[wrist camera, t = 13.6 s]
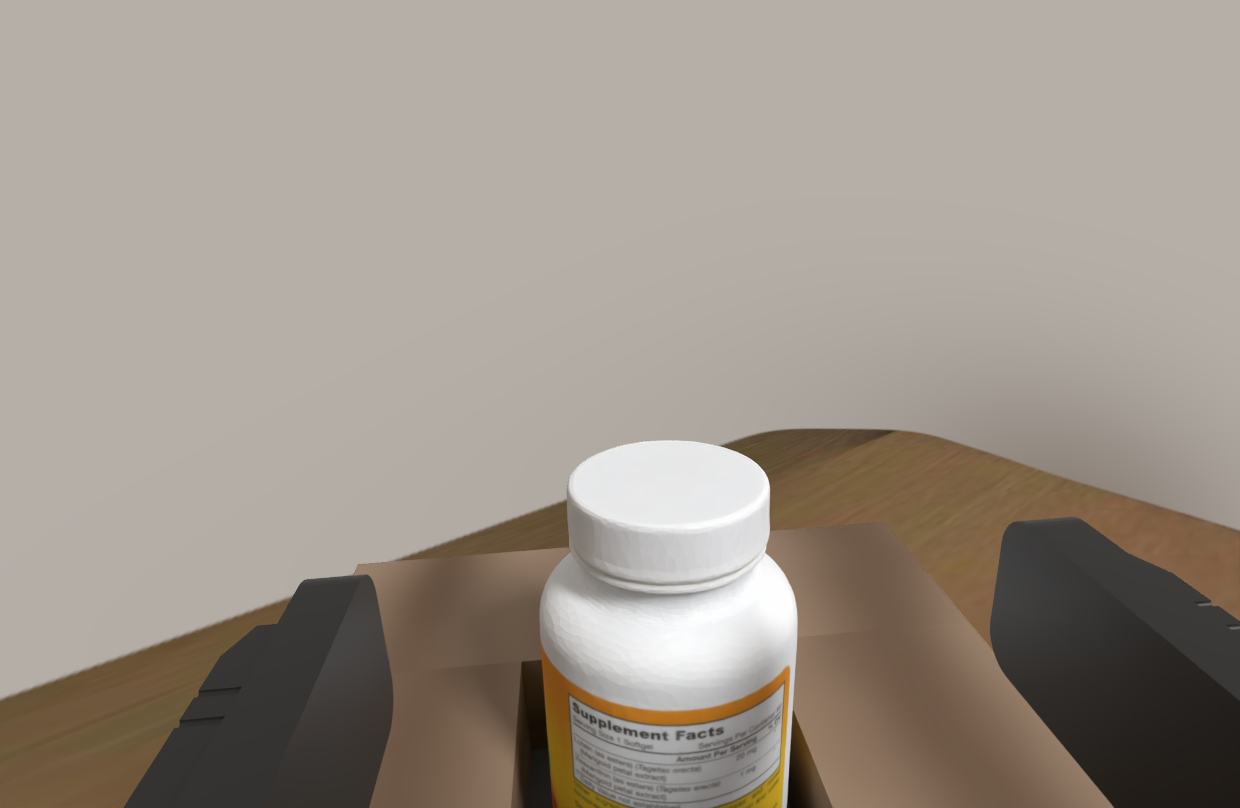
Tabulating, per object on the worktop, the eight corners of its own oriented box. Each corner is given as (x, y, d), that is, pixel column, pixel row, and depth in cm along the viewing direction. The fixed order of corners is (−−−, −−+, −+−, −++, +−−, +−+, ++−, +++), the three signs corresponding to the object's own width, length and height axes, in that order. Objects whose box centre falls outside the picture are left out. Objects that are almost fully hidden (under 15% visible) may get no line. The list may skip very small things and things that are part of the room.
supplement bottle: (608, 735, 22) (595, 415, 18) (800, 789, 20) (825, 442, 16) (514, 907, 17) (475, 517, 14) (756, 1000, 15) (778, 572, 12)
